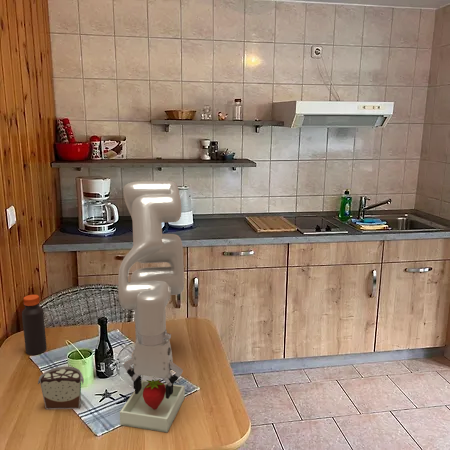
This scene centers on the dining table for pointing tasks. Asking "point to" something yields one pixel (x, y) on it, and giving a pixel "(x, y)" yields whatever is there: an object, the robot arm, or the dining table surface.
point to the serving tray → (152, 410)
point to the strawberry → (154, 393)
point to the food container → (61, 388)
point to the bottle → (33, 326)
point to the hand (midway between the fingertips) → (153, 393)
